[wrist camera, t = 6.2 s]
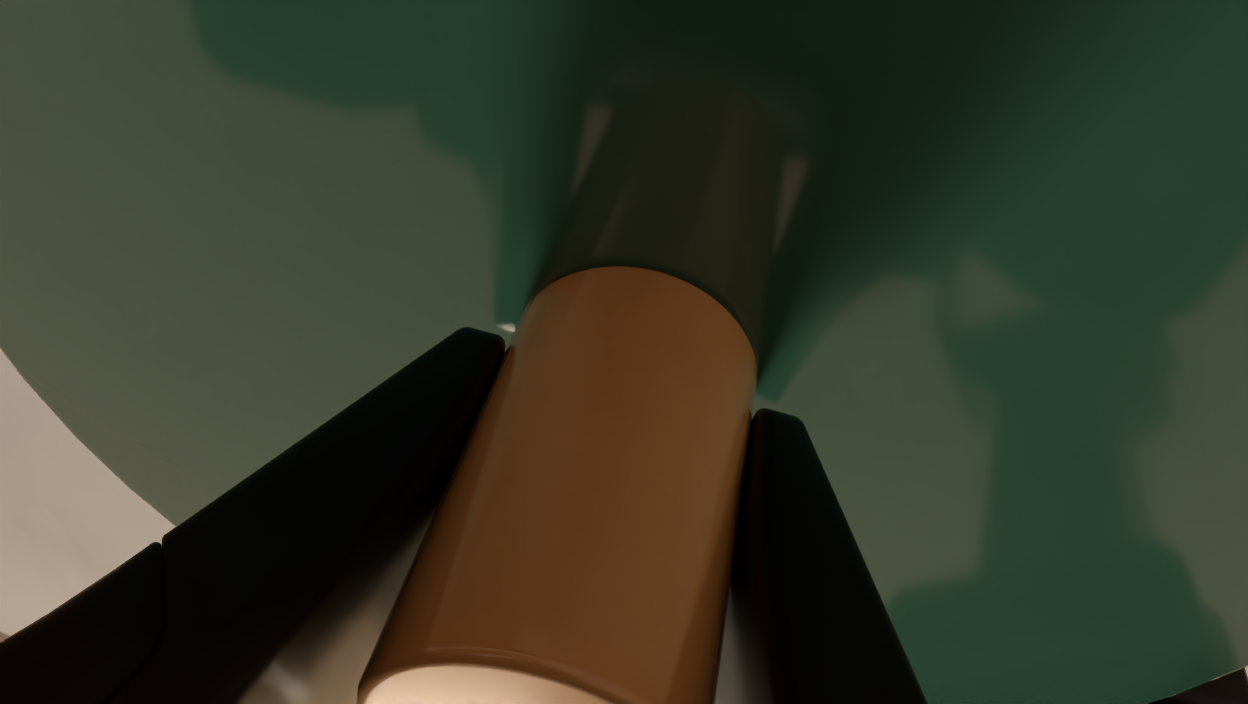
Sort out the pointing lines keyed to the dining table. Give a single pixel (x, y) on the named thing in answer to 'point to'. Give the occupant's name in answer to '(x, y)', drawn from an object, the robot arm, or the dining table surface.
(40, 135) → the pot lid
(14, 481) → the dining table surface
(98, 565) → the dining table surface
